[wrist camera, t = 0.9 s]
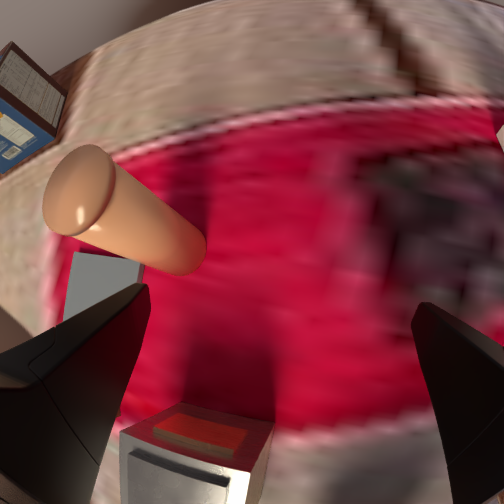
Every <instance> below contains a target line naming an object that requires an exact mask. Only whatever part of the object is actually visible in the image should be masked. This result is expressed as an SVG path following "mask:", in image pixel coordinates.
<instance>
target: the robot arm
mask: <svg viewBox="0 0 504 504" xmlns="http://www.w3.org/2000/svg"><path fill="white" fill-rule="evenodd" d="M150 312H151V303H150V294H149V287H148V285H147V284H144V283H133V284H132V285H130V286H128V287H126V288H124V289H122V290H120V291H118V292H117V293H115V294H113V295H111V296H109V297H107V298H105V299H104V300H102V301H100V302H98V303H96V304H94V305H92V306H91V307H89V308H87V309H85V310H83V311H81V312H80V313H78V314H76V315H74V316H72V317H70V318H69V319H67V320H65V321H63V322H61V323H60V324H58V325H56V328H55V327H52V328H51V329H49V330H47V331H45V332H43V333H42V334H40V335H38V336H36V337H34V338H32V339H30V340H28V341H26V342H24V343H22V344H20V345H18V346H15V347H13V348H11V349H9V350H7V351H5V352H3V353H0V504H90V500H91V496H92V493H93V489H94V486H95V482H96V479H97V475H98V472H99V469H100V467H99V466H100V465H101V461H102V458H103V455H104V452H105V449H106V446H107V442H108V439H109V436H110V433H111V430H112V427H113V424H114V421H115V418H116V416H117V413H118V410H119V407H120V404H121V401H122V398H123V396H124V393H125V390H126V387H127V385H128V382H129V379H130V377H131V374H132V371H133V369H134V366H135V364H136V361H137V358H138V356H139V353H140V350H141V346H142V342H143V338H144V334H145V331H146V327H147V323H148V319H149V316H150ZM411 329H412V333H413V337H414V341H415V346H416V350H417V354H418V359H419V363H420V366H421V369H422V372H423V376H424V379H425V382H426V385H427V388H428V392H429V395H430V399H431V402H432V406H433V409H434V413H435V416H436V420H437V424H438V428H439V432H440V436H441V440H442V445H443V449H444V454H445V459H446V463H447V469H448V475H449V480H450V486H451V492H452V499H453V504H487V503H489V502H490V501H492V500H494V499H496V498H497V500H498V503H499V504H504V347H502V346H501V345H500V344H498V343H497V342H495V341H494V340H492V339H490V338H489V337H487V336H486V335H484V334H482V333H481V332H479V331H478V330H476V329H474V328H473V327H471V326H469V325H468V324H466V323H464V322H463V321H461V320H459V319H458V318H456V317H454V316H453V315H451V314H449V313H448V312H446V311H444V310H443V309H441V308H439V307H438V306H436V305H434V304H432V303H430V302H421V303H420V304H419V305H418V307H417V310H416V312H415V314H414V317H413V319H412V322H411Z"/></svg>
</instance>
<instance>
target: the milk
mask: <svg viewBox="0 0 504 504" xmlns="http://www.w3.org/2000/svg"><path fill="white" fill-rule="evenodd" d="M496 136H497V138H498V140H499V143H500V145H501V147H502V149H503V152H504V125H503V126H502V128H501V129H500V130H499V132H498V133H497V134H496Z"/></svg>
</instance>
